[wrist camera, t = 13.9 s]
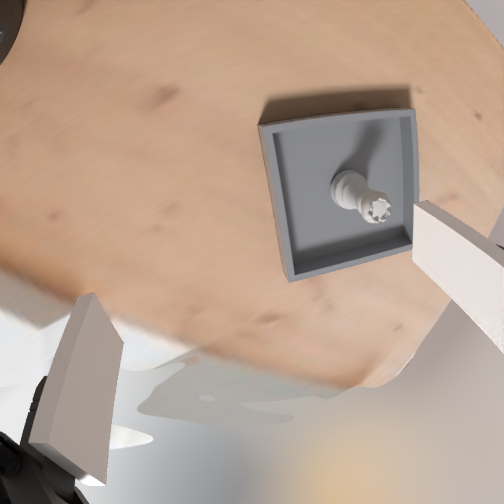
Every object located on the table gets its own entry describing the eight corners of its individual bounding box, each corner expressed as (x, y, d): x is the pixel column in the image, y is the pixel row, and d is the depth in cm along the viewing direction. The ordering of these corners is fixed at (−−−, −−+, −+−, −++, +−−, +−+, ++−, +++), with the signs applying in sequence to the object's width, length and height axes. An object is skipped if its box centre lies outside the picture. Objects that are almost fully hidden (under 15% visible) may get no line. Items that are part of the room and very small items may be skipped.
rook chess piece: (369, 179, 35) (407, 199, 28) (352, 211, 37) (385, 239, 30) (339, 162, 34) (374, 179, 27) (322, 197, 35) (351, 222, 28)
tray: (257, 124, 32) (262, 126, 29) (400, 107, 32) (415, 109, 30) (282, 270, 40) (288, 282, 37) (405, 238, 40) (417, 247, 38)
